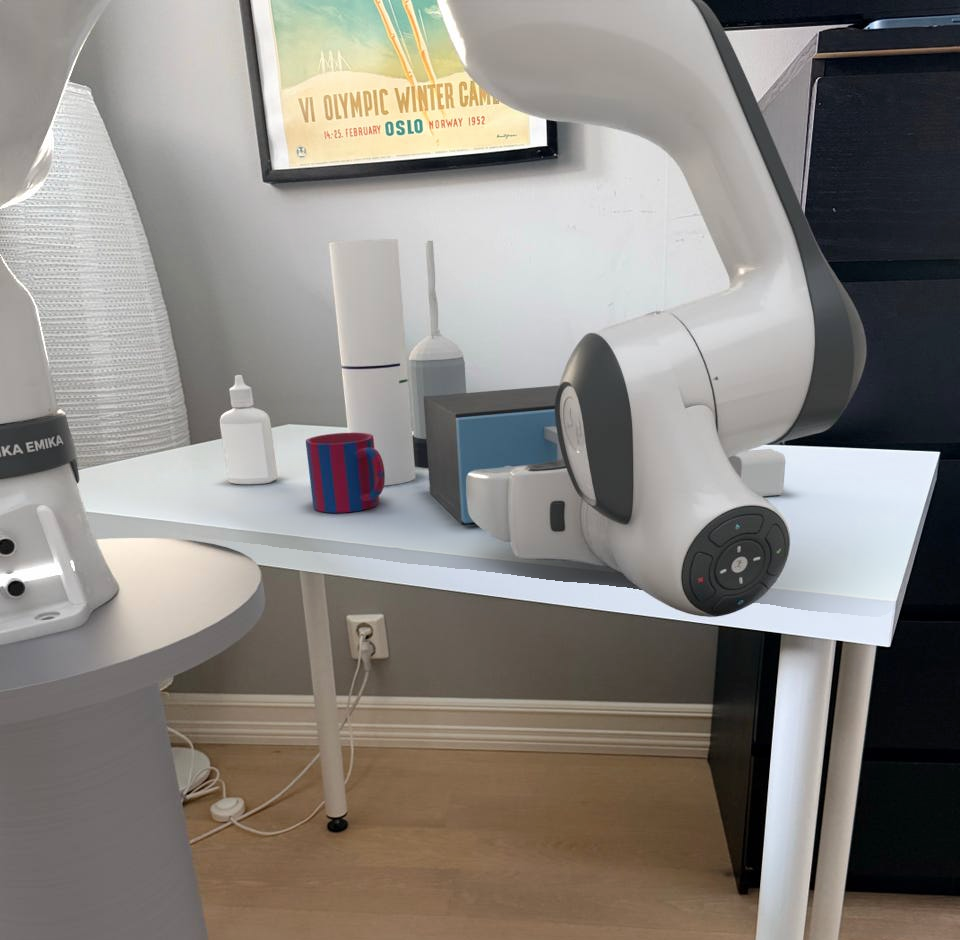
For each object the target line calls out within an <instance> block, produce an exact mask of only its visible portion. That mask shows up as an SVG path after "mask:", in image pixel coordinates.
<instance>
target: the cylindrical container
mask: <svg viewBox="0 0 960 940" xmlns="http://www.w3.org/2000/svg"><path fill="white" fill-rule="evenodd" d="M328 248H329V257H330V267H331V277H332V288H333V297H334V307H335V316H336V326H337V327H336V328H337V337H338V347H339V355H340V365H341V366H342V367H341V376H342V377H341V378H342V386H343V394H344V395H343V396H344V405H345V406H344V407H345V417H346V424H347V425H346V426H347V433H367V434H371V435H373V439H374V449H376V450H377V451H378V452H379V454H380V456H381V458H382V461H383V465H384V472H385V482H384V487H385V486H394V485H400V484H405V483H408V482H411V481H414V480H415V479H416V466H415V463H414V450H413V437H412V436H413V422H412V409H411V396H410V383H409V370H408V359H407V346H406V345H407V344H406V334H405V332H406V331H405V321H404V320H405V319H404V307H403V294H402V293H403V292H402V280H401V279H402V278H401V268H400V267H401V266H400V255H399V254H400V253H399V241H398V239H395V238H393V239H392V238H391V239H390V238H388V239H385V238H383V239H361V240H359V239H358V240H348V241H347V240H343V241H333V242H329V243H328Z"/></svg>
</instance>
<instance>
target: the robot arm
mask: <svg viewBox="0 0 960 940" xmlns="http://www.w3.org/2000/svg"><path fill="white" fill-rule="evenodd" d="M111 1H112V0H0V209H3V208H7V207H9V206H12V205H15V204H17V203H19V202H22V201H24V200H27V199H28V198H30V197H32V196H33V195H34V194H35V193H36V192H38V190H39V189H40V188H41V187H42V186H43V184H44V183H45V182H46V180H47V177H48V175H50V174H49V173H50V171H51V169H52V164H53V159H54V150H55V149H54V148H55V147H54V146H55V145H54V135H53V130H52V129H53V124H54V121H55V119H56V115H57V113H58V110H59V107H60V105H61V101H62V99H63V96H64V93H65V91H66V88H67V85H68V82H69V80H70V77H71V75H72V72H73V69H74V66H75V64H76V63H77V59H78V57H79V56H80V53H81V51H82V48H83V46H84V45H85V43H86V41H87V40H88V37H89V35H90V34H91V32H92V30H93V29H94V27H95V25H96V23H97V22H98V20H99V19H100V17H101V16H102V14H103V13H104V11H105V10H106V8H107V7H108V5H109V4H110V2H111ZM436 4H437V7H438V10H439V13H440V16H441V19H442V22H443V24H444V27H445V31H446V33H447V36H448V38H449V40H450V43H451V45H452V48H453V49H454V52H455V54H456V56H457V58H458V60H459V62H460V64H461V66H462V67H463V69H464V70H465V72H466V73H467V75H468V77H469V78H470V79H471V80H472V81H473V82H474V83H475V84H476V85H477V86H478V87H479V88H480V89H482V91H484V92H485V93H487V94H488V95H489V96H490V97H492V98H493V99H494V100H496V101H498V102H500V103H502V104H503V105H505V106H507V107H509V108H511V109H513V110H515V111H517V112H520V113H523V114H525V115H527V116H531V117H535V118H539V119H542V120H547V121H553V122H561V123H573V124H580V125H581V124H583V125H589V126H590V125H591V126H595V127H596V126H598V127H604V128H607V129H612V130H617V131H620V132H624V133H628V134H631V135H634V136H637V137H640V138H641V139H645V140H647V141H649V142H650V143H652V144H654V145H656V146H657V147H659V148H660V149H661V150H662V151H664V152H666V154H667V155H668V156H669V157H670V158H671V159H672V160H673V161H674V162H675V163H676V165H677V167H678V168H679V169H680V171H681V173H682V175H683V177H684V179H685V182H686V184H687V185H688V188H689V189H690V193H691V194H692V197H693V199H694V201H695V204H696V205H697V208H698V210H699V212H700V214H701V217H702V219H703V221H704V224H705V226H706V228H707V230H708V233H709V235H710V237H711V239H712V241H713V244H714V246H715V249H716V251H717V253H718V255H719V258H720V260H721V262H722V264H723V266H724V268H725V269H724V270H725V271H726V274H727V276H728V281H729V288H727V289H724V290H722V291H717V292H716V293H713V294H710V295H706V296H703V297H700V298H697V299H694V300H691V301H688V302H685V303H682V304H679V305H675V306H673V307H672V306H671V307H670V308H665V309H663V310H655V311H652V312H649V313H646V314H642V315H639V316H637V317H633V318H630V319H627V320H625V321H622V322H619V323H616V324H613V325H610V326H608V327H605V328H604V327H603V328H601V329H599V330H596V331H594V332H589V333H586V334H584V335H583V336H582V338H581V339H580V341H579V342H577V344H576V345H575V347H574V349H573V351H572V352H571V354H570V356H569V358H568V360H567V362H566V365H565V368H564V370H563V373H562V376H561V378H560V382H559V384H558V385H559V388H558V391H557V394H556V399H555V421H556V428H557V434H558V440H559V444H560V449H561V452H562V456H563V459H560V460H555V461H550V462H545V463H539V464H532V465H510V466H504V467H501V468H491V469H478V470H473V471H471V472H469V473H468V474H467V477H466V497H467V508H468V513H469V516H470V518H471V519H472V520H473V521H474V522H475V523H474V524H476V525H477V526H478V527H479V528H480V529H481V530H483V531H484V532H485V533H487V534H488V535H489V536H491V537H493V538H495V539H497V540H498V541H502V542H504V543H505V542H506V543H511V544H510V545H511V550H512V553H513V555H514V556H515V557H517V558H519V559H522V560H537V561H573V562H579V563H585V564H589V565H596V566H600V567H602V566H603V567H610V568H612V569H613V570H615V571H617V572H619V573H621V574H623V575H624V577H626V579H627V580H628V581H630V582H631V583H632V584H634V586H636V587H638V588H639V589H640V590H642V591H643V592H645V594H647V595H648V596H650V597H651V598H654V599H655V600H657V601H659V602H661V603H662V604H664V605H666V606H668V607H670V608H672V609H674V610H676V611H680V612H683V613H685V614H689V615H693V616H698V617H706V618H717V617H724V616H727V615H731V614H734V613H736V612H738V611H741V610H743V609H745V608H747V607H749V606H751V605H752V604H754V603H756V602H757V601H759V599H761V598H762V597H764V596H765V594H767V593H768V591H769V590H770V589H771V588H772V587H773V586H774V585H775V583H776V582H777V581H778V579H779V578H780V576H781V574H782V573H783V571H784V569H785V567H786V564H787V562H788V559H789V556H790V550H791V534H790V530H789V527H788V523H787V521H786V520H785V518H784V516H783V515H782V513H780V511H779V509H777V508H776V507H775V506H774V505H773V504H772V503H771V502H770V501H769V500H768V499H767V498H765V496H761V495H760V494H758V493H757V492H755V491H754V490H752V489H750V488H749V487H748V486H747V485H746V482H745V481H744V480H742V479H741V478H740V477H739V475H738V474H737V472H736V471H735V469H734V468H733V466H732V465H731V463H730V461H729V460H728V457H731V456H734V455H737V454H739V453H742V452H745V451H751V450H755V449H756V448H760V447H763V446H765V445H767V446H770V445H775V444H779V443H783V442H787V441H791V440H795V439H799V438H803V437H808V436H812V435H815V434H819V433H820V434H821V433H823V432H825V431H827V430H829V429H830V428H832V427H833V426H834V425H835V424H836V422H837V421H838V420H839V418H840V417H841V416H842V414H843V413H844V411H845V410H846V408H847V407H848V405H849V404H850V402H851V400H852V398H853V396H854V395H855V392H856V390H857V388H858V385H859V383H860V381H861V379H862V376H863V372H864V369H865V365H866V360H867V338H866V334H865V333H866V332H865V329H864V325H863V323H862V319H861V317H860V315H859V312H858V310H857V308H856V306H855V304H854V302H853V301H852V298H851V297H850V296H849V294H848V292H847V291H846V289H845V288H844V286H843V284H842V283H841V281H840V280H839V278H838V277H837V275H836V273H835V272H834V270H833V269H832V267H831V266H830V264H829V262H828V260H827V259H826V258H825V256H824V254H823V252H822V251H821V248H820V246H819V244H818V242H817V240H816V238H815V236H814V233H813V231H812V228H811V226H810V224H809V221H808V219H807V217H806V215H805V212H804V210H803V207H802V204H801V202H800V200H799V198H798V196H797V193H796V191H795V188H794V186H793V183H792V181H791V179H790V177H789V174H788V172H787V168H786V167H785V165H784V162H783V160H782V157H781V155H780V152H779V151H778V148H777V146H776V143H775V141H774V139H773V136H772V134H771V132H770V129H769V126H768V124H767V122H766V120H765V117H764V115H763V112H762V110H761V107H760V104H759V103H758V101H757V98H756V96H755V94H754V91H753V89H752V87H751V84H750V82H749V80H748V78H747V76H746V73H745V71H744V69H743V67H742V64H741V62H740V60H739V58H738V56H737V53H736V52H735V49H734V48H733V45H732V44H731V41H730V39H729V37H728V35H727V33H726V31H725V29H724V27H723V25H722V24H721V23H720V20H719V19H718V17H717V15H716V14H715V13H714V12H713V10H712V9H711V8H710V7H709V5H708V4H707V3H706V2H705V1H704V0H436ZM43 334H44V333H43V330H42V325H41V319H40V315H39V310H38V307H37V304H36V303H35V300H34V298H33V296H32V295H31V293H30V291H29V290H28V289H27V287H25V285H24V284H23V283H22V282H21V281H20V280H18V278H17V277H16V276H15V275H14V273H13V272H12V271H11V269H10V268H9V266H8V265H7V263H6V262H5V260H4V258H3V256H2V255H1V253H0V646H2V645H6V644H10V643H15V642H19V641H23V640H28V639H32V638H36V637H40V636H45V635H49V634H53V633H58V632H62V631H66V630H71V629H74V628H77V627H80V626H82V625H83V624H85V623H86V622H87V620H88V619H89V617H90V615H91V613H92V612H93V611H94V610H95V609H96V608H98V607H100V606H101V605H103V604H104V603H106V602H107V601H109V600H110V599H111V598H112V597H113V596H115V594H116V593H117V592H118V589H119V584H118V582H117V581H116V579H115V577H114V575H113V574H112V572H111V570H110V568H109V566H108V564H107V562H106V561H105V558H104V556H103V554H102V552H101V550H100V547H99V545H98V543H97V540H96V539H97V538H96V535H95V533H94V530H93V528H92V525H91V522H90V519H89V516H88V513H87V511H86V507H85V505H84V502H83V498H82V495H81V493H80V489H79V485H78V484H79V483H80V473H79V467H78V464H79V463H78V456H77V450H76V446H75V442H74V437H73V434H72V432H71V430H70V427H69V422H68V418H67V414H66V412H64V411H63V410H62V409H60V408H59V404H58V400H57V395H56V391H55V386H54V381H53V376H52V372H51V371H52V370H51V367H50V363H49V358H48V353H47V349H46V343H45V337H44V335H43Z"/></svg>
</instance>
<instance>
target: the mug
mask: <svg viewBox="0 0 960 940" xmlns="http://www.w3.org/2000/svg"><path fill="white" fill-rule="evenodd" d="M305 448H306V456H307V465H308V466H307V467H308V473H309V482H310V491H311V499H312V507H313V509H314V510H315V511H318V512H321V513H329V514H330V513H331V514H332V513H333V514H341V513H342V514H343V513H353V512H359V511H360V512H361V511H364V510H368V509H372V508H374V507H376V506H377V505H379V504H380V495H381V494H382V492H383V490H384V487H385V486H384V482H385V472H384V465H383V461H382V458H381V456H380V454H379V452H378V451H377V450H376V449H374V439H373V435H371V434H367V433H348V432H336V433H327V434H321V435H315V436H312V437H309V438H307V439H306V440H305Z"/></svg>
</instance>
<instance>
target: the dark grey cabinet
mask: <svg viewBox="0 0 960 940" xmlns="http://www.w3.org/2000/svg"><path fill="white" fill-rule="evenodd" d="M558 388H559V384H558V385H549V386H548V385H547V386H537V387H535V386H534V387H524V388H512V389H511V388H510V389H498V390H487V391H486V390H485V391H475V392H474V391H473V392H466V393H461V394H449V395H437V396H425V397H424V412H425V426H426V441H427V455H428V467H427V470H428V483H429V494H430V495H431V496H432V497H433V498H434V499H435V500H436V501H437V502H438V503H439V504H440V505H441V506H442V507H443V508H444V509H446V511H447V512H448V513H449V514H450V515H451V516H452V517H453V518H454V519H456V520H457V521H458V522H459V523H460V524H461V525H470V524H476V523H475V522H471V523H464V522H463V521H462V520H461V503H460V486H459V468H458V451H457V433H456V418H460V417H472V416H483V415H494V414H506V413H517V412H528V411H540V410H551V409H555V399H556V394H557V391H558Z"/></svg>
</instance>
